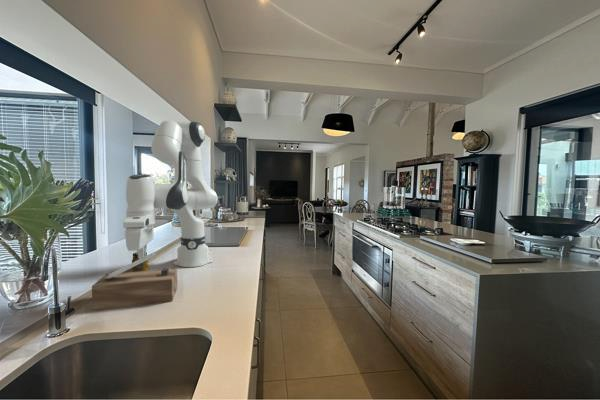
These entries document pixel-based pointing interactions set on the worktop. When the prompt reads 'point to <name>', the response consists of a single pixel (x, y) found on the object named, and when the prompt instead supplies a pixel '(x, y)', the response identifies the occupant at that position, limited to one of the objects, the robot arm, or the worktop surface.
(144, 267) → the condiment
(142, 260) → the latch bar
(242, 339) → the worktop surface
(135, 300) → the walnut case
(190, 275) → the worktop surface
